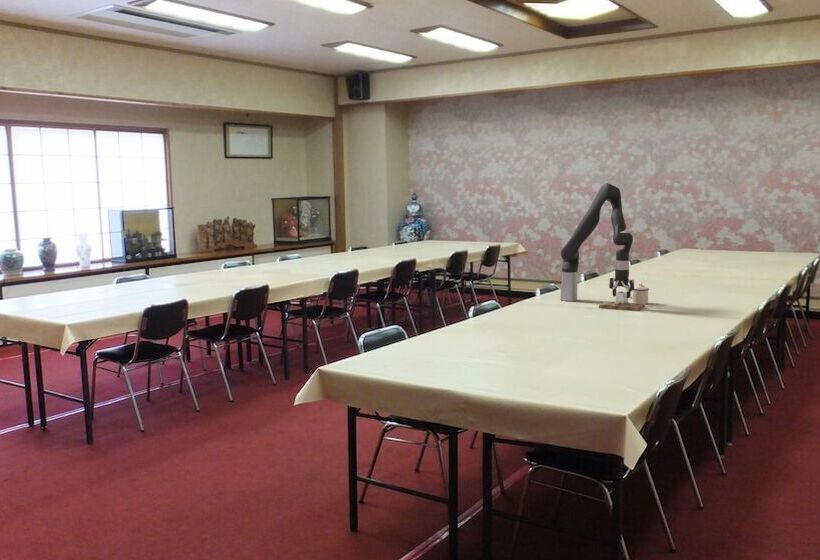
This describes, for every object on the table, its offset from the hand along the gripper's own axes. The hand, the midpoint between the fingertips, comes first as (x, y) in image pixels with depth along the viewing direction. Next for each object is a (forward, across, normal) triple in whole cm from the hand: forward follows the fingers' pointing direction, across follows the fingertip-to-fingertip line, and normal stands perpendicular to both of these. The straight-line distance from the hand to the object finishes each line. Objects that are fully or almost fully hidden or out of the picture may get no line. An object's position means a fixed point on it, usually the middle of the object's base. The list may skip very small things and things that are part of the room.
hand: (621, 297), depth 414 cm
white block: (+3, 0, 0) cm, 3 cm away
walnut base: (+6, 0, 0) cm, 6 cm away
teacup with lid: (+6, +1, -20) cm, 21 cm away
